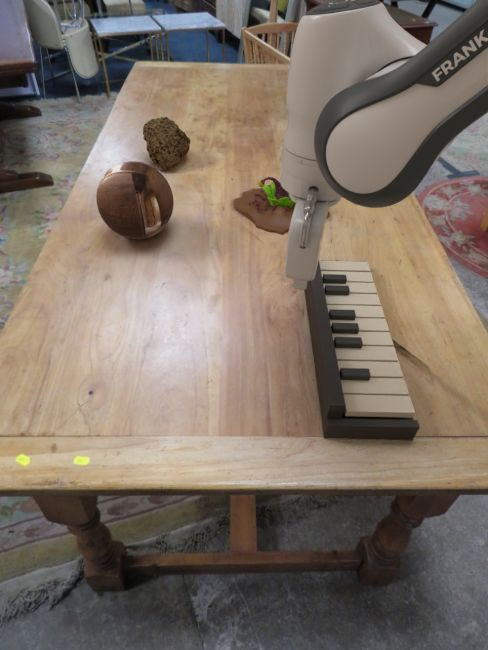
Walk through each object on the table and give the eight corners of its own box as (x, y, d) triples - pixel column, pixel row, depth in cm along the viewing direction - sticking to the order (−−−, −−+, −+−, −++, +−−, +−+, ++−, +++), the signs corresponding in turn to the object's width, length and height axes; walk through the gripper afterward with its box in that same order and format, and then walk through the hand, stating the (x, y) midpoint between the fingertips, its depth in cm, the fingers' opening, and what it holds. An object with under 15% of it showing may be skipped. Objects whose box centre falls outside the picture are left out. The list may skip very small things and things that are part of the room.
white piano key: (407, 400, 59) (410, 395, 58) (412, 417, 57) (415, 412, 57) (341, 399, 59) (343, 394, 58) (344, 416, 57) (346, 411, 57)
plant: (344, 222, 97) (354, 174, 89) (272, 248, 90) (276, 198, 82) (290, 185, 109) (295, 140, 101) (223, 205, 101) (222, 158, 94)
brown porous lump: (156, 177, 113) (124, 128, 112) (188, 172, 123) (159, 127, 123) (181, 147, 105) (147, 95, 105) (212, 145, 116) (181, 97, 115)
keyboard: (364, 274, 84) (371, 248, 80) (412, 440, 58) (426, 415, 54) (302, 273, 84) (305, 247, 80) (323, 438, 58) (330, 413, 54)
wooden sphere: (104, 219, 96) (88, 152, 86) (171, 211, 99) (164, 145, 89) (106, 258, 86) (88, 187, 76) (181, 248, 89) (174, 179, 78)
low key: (366, 266, 81) (367, 261, 80) (369, 275, 79) (370, 270, 78) (318, 265, 81) (318, 260, 80) (319, 274, 79) (320, 269, 78)
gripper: (338, 219, 43) (319, 319, 53) (350, 139, 57) (333, 229, 67) (275, 210, 44) (268, 310, 54) (303, 134, 58) (293, 224, 68)
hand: (304, 265), depth 61 cm, fingers open, 8 cm apart
